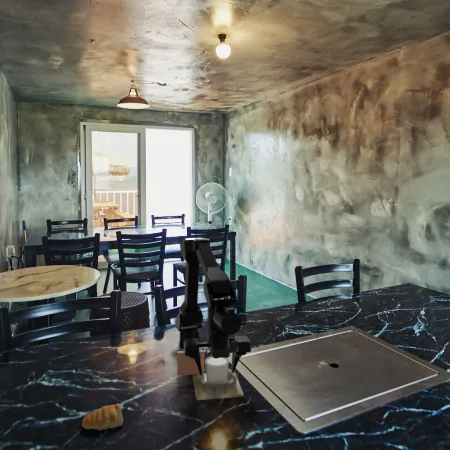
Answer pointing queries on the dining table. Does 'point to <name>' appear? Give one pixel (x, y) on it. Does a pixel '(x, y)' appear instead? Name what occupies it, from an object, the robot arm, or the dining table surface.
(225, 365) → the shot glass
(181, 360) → the block
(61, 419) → the dining table surface
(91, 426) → the pastry
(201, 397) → the dock
